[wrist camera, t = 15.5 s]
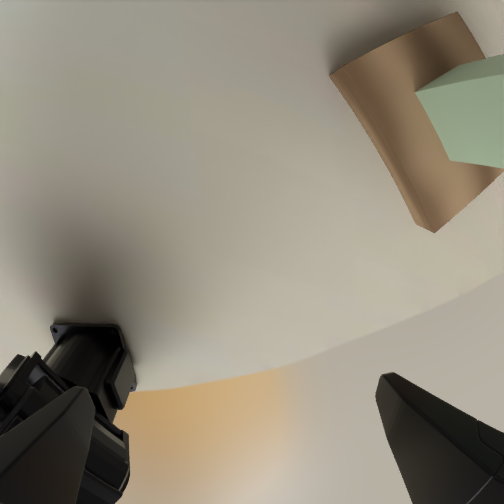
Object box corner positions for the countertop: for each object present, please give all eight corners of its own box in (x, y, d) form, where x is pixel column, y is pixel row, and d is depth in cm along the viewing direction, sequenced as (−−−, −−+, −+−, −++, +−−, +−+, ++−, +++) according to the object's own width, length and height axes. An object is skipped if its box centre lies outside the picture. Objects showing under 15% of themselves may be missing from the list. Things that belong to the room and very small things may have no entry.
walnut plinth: (416, 224, 21) (434, 233, 18) (329, 76, 17) (341, 67, 15) (504, 148, 19) (524, 150, 17) (439, 20, 16) (457, 11, 13)
